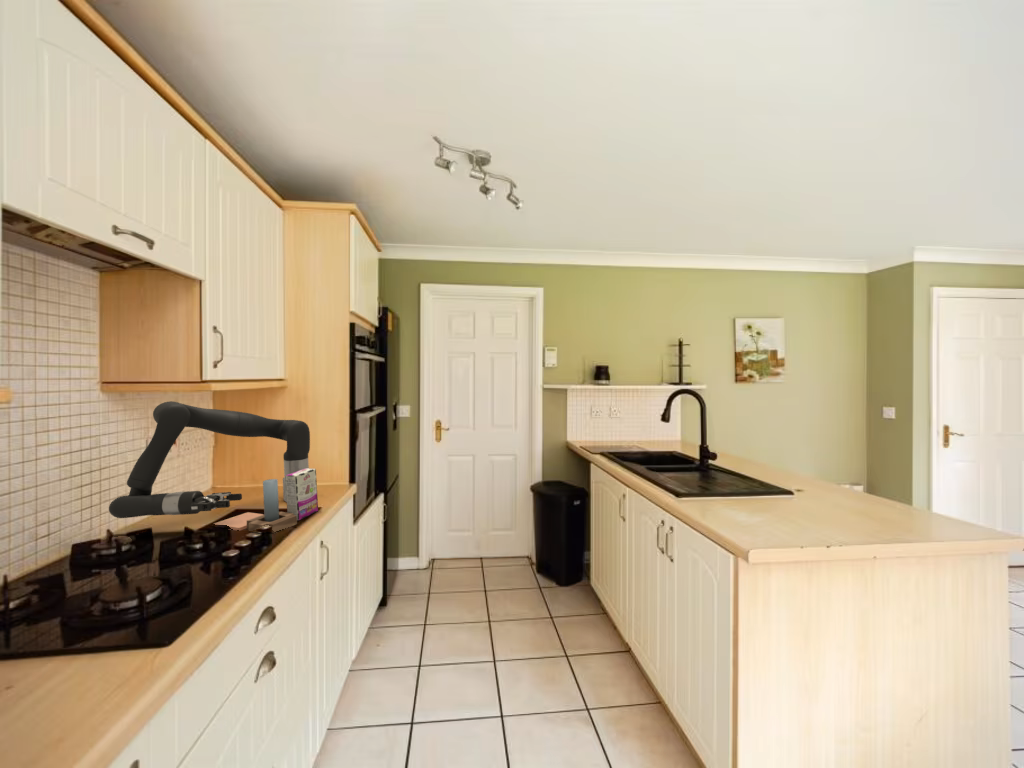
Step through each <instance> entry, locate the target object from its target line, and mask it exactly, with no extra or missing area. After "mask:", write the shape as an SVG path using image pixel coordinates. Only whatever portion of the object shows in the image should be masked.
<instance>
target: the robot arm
mask: <svg viewBox="0 0 1024 768" xmlns="http://www.w3.org/2000/svg"><path fill="white" fill-rule="evenodd" d="M152 417H153V419H154V421H155V423H156V426H155V430H154V433H153V435H152V437H151V440H150V442H149V444H148V445H147V446H146V447H145V449H144V451H143V452H142V453H141V454H140V456H139V457H138V459H137V460H136V462H135V464H134V466H133V468H132V470H131V472H130V474H129V475H128V478H127V481H126V486H127V487H129V488H130V490H129V493H128V495H122V496H119V497H117V498H115V499H113V500H112V501H110V504H109V506H108V511H109V514H110V515H112V517H115V518H118V519H128V518H137V517H143V516H144V517H145V516H168V515H169V516H182V515H183V516H184V515H196V514H199V513H200V512H211V511H212V510H216V509H224V508H225V509H226V508H229V507H230V506H231V503H230V502H232V501H233V502H234V501H241V500H242V499H243V494H242V493H232V491H231V492H230V491H224V492H223V491H222V492H213V493H212V492H211V493H210V494H206V495H204V494H203V492H202V491H200V490H192V491H191V490H189V491H175V492H174V491H173V492H166V493H165V492H163V493H153V494H152V492H153V485H154V483H155V481H156V479H157V477H158V475H159V473H160V471H161V470H162V469H161V468H162V467H163V465H164V462H165V460H166V458H167V457H168V454H169V452H170V451H171V449H172V447H173V446H174V444H175V443H176V441H177V439H178V437H179V436H180V435H181V433H182V432H183V431H184V429H185V428H194V429H195V428H196V429H201V430H205V431H209V432H214V433H216V434H221V435H225V436H233V437H241V438H242V437H243V438H259V437H263V438H264V437H266V438H271V439H278V440H281V441H285V442H286V451H285V452H284V453H283V476H284V477H283V478H282V492H283V493H282V494H283V501H285V503H287V495H286V480H285V476H286V475H289V474H291V473H294V472H297V471H300V470H303V469H306V468H308V469H309V468H310V465H309V464H310V463H309V453H310V450H311V434H310V433H311V431H310V427H309V425H308V423H306V422H305V421H302V420H297V419H277V418H276V419H275V418H274V419H273V418H268V417H264V416H260V415H257V414H254V413H249V412H244V411H243V412H242V411H235V410H226V409H217V408H216V409H215V408H205V407H198V406H194V405H193V406H192V405H190V404H186V403H180V402H177V401H164V402H163V403H161V402H160V404H158V405H156V406H155V408H154V409H153V413H152Z"/></svg>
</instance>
